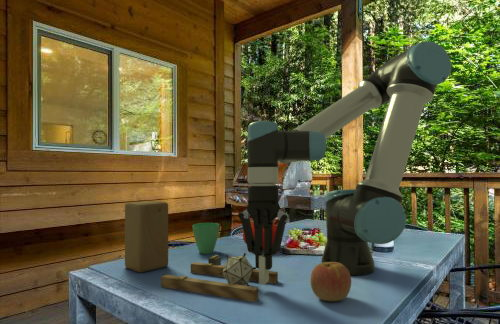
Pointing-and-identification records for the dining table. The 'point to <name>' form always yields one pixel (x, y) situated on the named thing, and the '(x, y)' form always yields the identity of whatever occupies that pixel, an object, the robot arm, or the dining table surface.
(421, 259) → the dining table surface
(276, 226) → the tomato
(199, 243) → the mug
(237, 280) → the game die
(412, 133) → the robot arm
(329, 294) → the apple
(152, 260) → the wooden block
